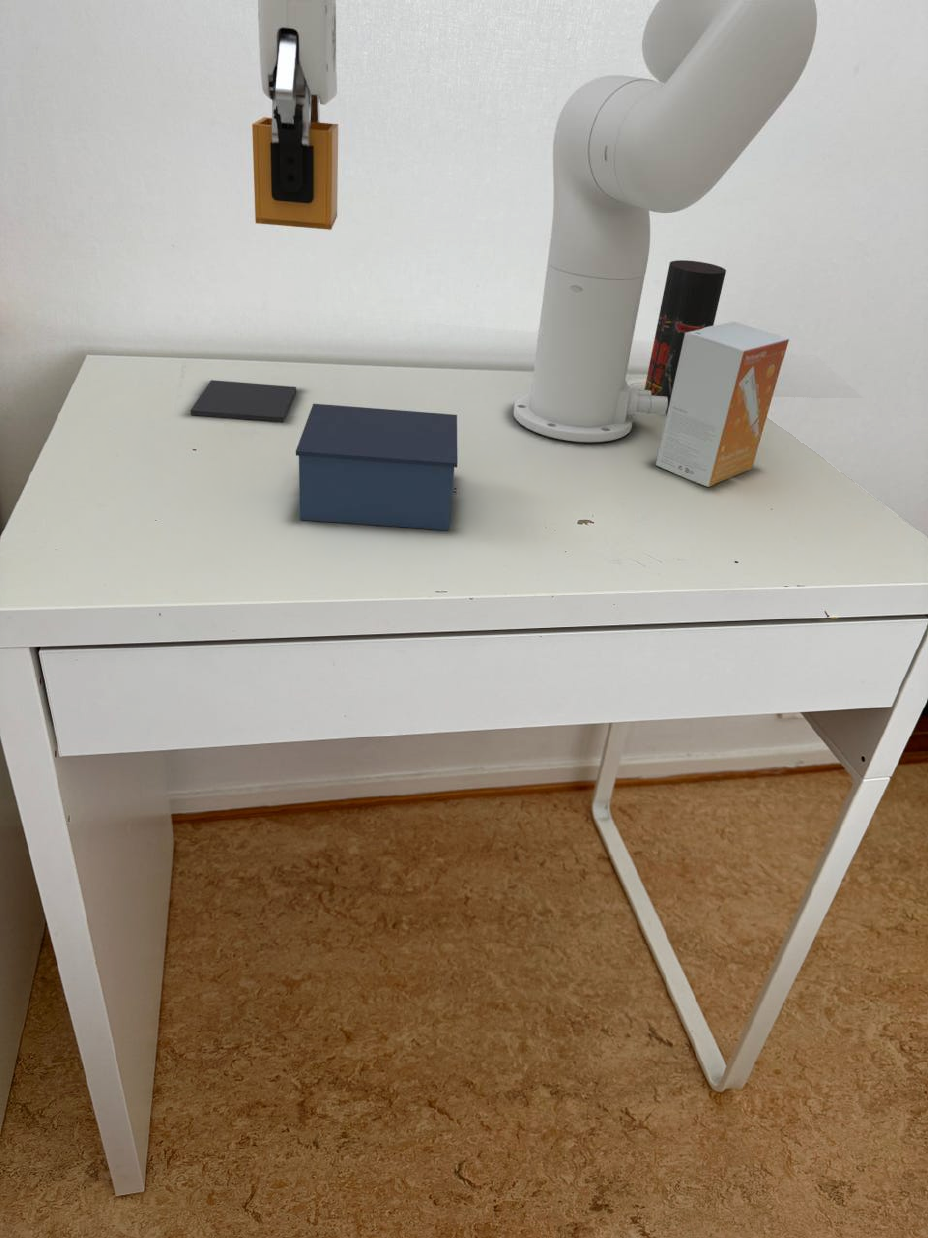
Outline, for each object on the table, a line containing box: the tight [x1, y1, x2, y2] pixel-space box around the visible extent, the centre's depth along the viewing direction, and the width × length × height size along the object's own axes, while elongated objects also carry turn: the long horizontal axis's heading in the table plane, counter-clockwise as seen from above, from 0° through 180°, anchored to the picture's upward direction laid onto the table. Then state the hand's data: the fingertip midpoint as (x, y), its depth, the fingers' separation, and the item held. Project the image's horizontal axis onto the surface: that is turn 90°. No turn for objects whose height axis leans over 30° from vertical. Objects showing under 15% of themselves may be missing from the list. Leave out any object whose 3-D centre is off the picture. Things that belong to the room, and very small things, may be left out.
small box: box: [655, 321, 790, 488], centre depth 86 cm, size 8×6×13 cm
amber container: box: [251, 116, 339, 231], centre depth 73 cm, size 6×6×7 cm
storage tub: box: [295, 403, 458, 531], centre depth 76 cm, size 12×10×6 cm
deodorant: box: [643, 259, 727, 413], centre depth 100 cm, size 6×6×15 cm
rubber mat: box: [190, 379, 297, 423], centre depth 93 cm, size 9×9×1 cm
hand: (297, 191), depth 74 cm, fingers closed on amber container, 6 cm apart
